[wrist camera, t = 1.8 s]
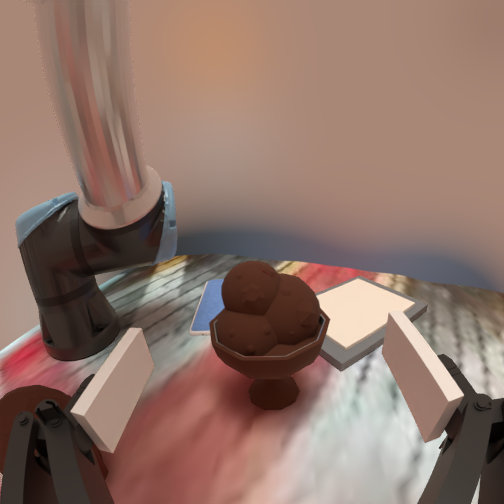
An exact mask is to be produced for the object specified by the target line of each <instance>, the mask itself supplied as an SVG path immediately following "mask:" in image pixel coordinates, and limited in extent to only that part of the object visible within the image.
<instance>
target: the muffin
mask: <svg viewBox="0 0 504 504" xmlns="http://www.w3.org/2000/svg"><path fill="white" fill-rule="evenodd" d="M71 398H72V397H71V396H69V395H66V394H65V393H63V392H61V391H59V390H56V389H52V388H48V387H45V386H41V385H32V386H26V387H20V388H17V389H15V390H13V391H11V392H9V393H7V394H6V395H5V396H3V397H2V398H1V399H0V473H2V474H3V470H4V464H5V458H6V452H7V447H8V442H9V438H10V434H11V429H12V425H13V422H14V419H15V417H16V416H17V415H18V414H19V413H20V412H23V411H29V412H31V413H32V414H33V416H34V417H35V418H36V419H39V418H38V416H37V415H36V414H35V408H36V406H37V405H38V404H39V403H40V402H41V401H43V400H45V399H53V400H55V401H56V402H57V403H58V404H59V406H60V407H61V409H62V410H64V408H65V407H66V405H67V404H68V402H69V401H70V400H71ZM91 448H92V449H93V450H94V452H95V455H96V458H97V461H98V464H99V467H100V470H101V472H102V475H103V477H104V480H105V479H106V476H107V474H108V470H107V468H106V466H105V465H104V463H103V461H102V457H101V454H100V452H99V450H98V448H97V446H96V445H95V443H93V445H92V447H91ZM34 455H35V456H36V455H37V451H36V450H35V454H34Z"/></svg>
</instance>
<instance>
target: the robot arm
mask: <svg viewBox="0 0 504 504" xmlns="http://www.w3.org/2000/svg"><path fill="white" fill-rule="evenodd" d="M21 1H24V2H26V3H29V4H31V5H32V6H33V7H34V12H35V22H36V31H37V38H38V45H39V50H40V56H41V61H42V67H43V71H44V76H45V80H46V85H47V88H48V93H49V96H50V100H51V103H52V108H53V111H54V115H55V118H56V121H57V124H58V128H59V130H60V134H61V136H62V139H63V143H64V146H65V148H66V151H67V154H68V156H69V159H70V162H71V165H72V167H73V170H74V172H75V175H76V177H77V180H78V182H79V185H80V187H81V189H82V191H81V194H80V196H79V197H78V196H77V194H76V193H75V192H70V193H67V194H64V195H61V196H58V197H56V198H54V199H52V200H48V201H46V202H44V203H42V204H40V205H37V206H35V207H33V208H32V209H29V210H28V211H26V212H24V213H23V214H21V215H20V216H19V217H18V219H17V221H16V234H17V240H18V248H19V249H20V253H21V257H22V260H23V264H24V267H25V271H26V274H27V277H28V280H29V283H30V286H31V289H32V292H33V295H34V297H35V300H36V303H37V305H38V309H39V319H40V327H41V334H42V340H43V343H44V345H45V347H46V349H47V351H48V353H49V354H50V355H51V356H52V357H54V358H56V359H59V360H77V359H81V358H85V357H88V356H90V355H92V354H95V353H97V352H98V351H100V350H102V349H103V348H105V347H106V346H107V345H109V344H110V343H111V342H112V341H113V340H114V339H115V337H116V336H117V334H118V332H119V330H120V323H119V320H118V317H117V314H116V312H115V310H114V309H113V307H112V306H111V305H110V303H109V302H108V300H107V299H106V298H105V296H104V295H103V293H102V292H101V290H100V289H99V287H98V286H97V283H96V279H95V276H94V275H97V274H102V273H107V272H113V271H118V270H124V269H129V268H135V267H141V266H147V265H150V266H151V265H155V264H156V263H159V262H163V261H167V260H170V259H171V258H173V256H174V255H175V252H176V248H177V227H176V209H175V199H174V192H173V187H172V184H171V183H170V182H164V181H161V179H160V177H159V175H158V173H157V172H156V171H155V170H154V169H152V168H151V167H149V166H147V165H146V161H145V155H144V150H143V143H142V137H141V131H140V124H139V117H138V109H137V101H136V93H135V84H134V73H133V61H132V47H131V26H130V0H21ZM78 199H79V200H78ZM382 355H383V357H384V359H385V361H386V362H387V364H388V366H389V368H390V370H391V372H392V374H393V376H394V378H395V380H396V382H397V384H398V386H399V388H400V390H401V392H402V394H403V396H404V398H405V400H406V402H407V405H408V407H409V409H410V411H411V413H412V415H413V417H414V420H415V422H416V424H417V426H418V428H419V431H420V433H421V435H422V438H423V440H424V442H425V443H426V442H429V441H431V440H434V439H437V438H439V437H440V436H441V434H442V433H443V431H444V430H445V431H446V433H447V436H446V438H445V439H444V441H443V442H442V444H441V445H440V447H439V449H441V448H442V449H441V452H440V454H439V457H438V460H437V462H436V465H435V467H434V469H433V472H432V474H431V476H430V479H429V481H428V483H427V485H426V487H425V489H424V491H423V493H422V495H421V497H420V499H419V501H418V503H417V504H471V502H472V499H473V496H474V493H475V490H476V487H477V484H478V481H479V478H480V490H479V499H478V504H504V398H500V399H494V400H492V399H491V398H490V397H489V396H488V395H485V394H477V393H476V392H475V390H474V389H473V388H472V386H471V385H470V383H469V382H468V381H467V379H466V378H465V376H464V375H463V374H461V371H460V370H459V368H457V366H456V364H455V363H454V362H453V360H452V359H451V358H449V357H447V356H446V355H444V354H441V355H438V356H437V355H436V354H435V353H434V351H433V350H432V349H431V347H430V346H429V345H428V343H427V342H426V341H425V339H424V338H423V337H422V336H421V334H420V333H419V332H418V330H417V329H416V328H415V327H414V325H413V324H412V323H411V322H410V320H409V319H408V318H407V317H406V315H405V314H404V313H403V312H402V310H398V311H392V312H389V313H388V320H387V326H386V332H385V338H384V343H383V348H382ZM154 367H155V365H154V362H153V360H152V357H151V354H150V352H149V349H148V346H147V343H146V340H145V337H144V334H143V331H142V328H129V330H128V331H127V332H126V333H125V335H124V336H123V338H122V339H121V340H120V342H119V343H118V344H117V346H116V347H115V348H114V350H113V351H112V352H111V354H110V355H109V357H108V358H107V359H106V361H105V362H104V363H103V365H102V366H101V368H100V369H99V370H98V372H97V373H96V374H91V375H90V376H89V377H87V378H86V379H85V380H84V381H83V383H82V384H81V385H80V388H78V390H77V391H76V393H75V394H74V395H73V397H72V398H71V400H70V401H69V402H68V404H67V405H66V407H65V408H64V410H62V409H61V407H60V406H59V404H58V403H57V402H56V401H55V400H53V399H45V400H43V401H41V402H40V403H39V404H38V405H37V406H36V408H35V414H36V415H37V416H38V418H39V419H36V418H35V417H34V416H33V414H32V413H31V412H29V411H23V412H20V413H19V414H18V415H17V416H16V417H15V419H14V422H13V425H12V429H11V434H10V438H9V442H8V447H7V452H6V458H5V464H4V470H3V478H2V487H1V499H0V504H115V503H114V501H113V499H112V497H111V494H110V492H109V490H108V487H107V485H106V482H105V480H104V477H103V475H102V472H101V470H100V467H99V464H98V461H97V458H96V455H95V452H94V450H93V449H92V448H91V447H92V445H93V443H95V445H96V446H97V447H98V448H99V449H100V450H102V451H106V452H109V453H114V451H115V448H116V446H117V444H118V442H119V440H120V437H121V435H122V433H123V431H124V429H125V427H126V425H127V422H128V420H129V418H130V416H131V414H132V412H133V410H134V408H135V406H136V404H137V402H138V400H139V398H140V395H141V393H142V391H143V389H144V387H145V385H146V383H147V381H148V379H149V377H150V375H151V373H152V371H153V369H154ZM35 450H36V451H37V455H36V456H35V455H34V454H35ZM480 474H481V477H480Z"/></svg>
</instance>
